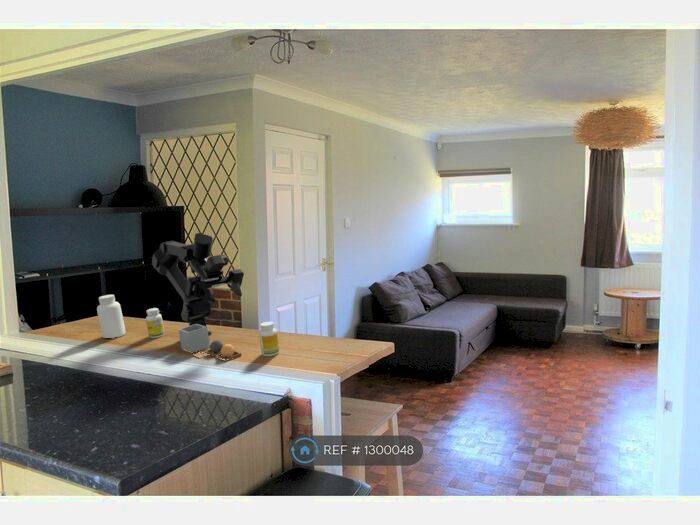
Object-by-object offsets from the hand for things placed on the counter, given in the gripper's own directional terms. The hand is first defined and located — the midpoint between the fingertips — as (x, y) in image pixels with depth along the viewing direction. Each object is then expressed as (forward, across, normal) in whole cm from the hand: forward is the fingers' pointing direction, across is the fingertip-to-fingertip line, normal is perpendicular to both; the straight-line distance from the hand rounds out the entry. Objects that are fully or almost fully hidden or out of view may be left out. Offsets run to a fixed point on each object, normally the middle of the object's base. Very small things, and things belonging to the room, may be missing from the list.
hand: (228, 298), depth 172 cm
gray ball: (+5, -3, +17) cm, 18 cm away
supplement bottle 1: (-26, -7, +36) cm, 44 cm away
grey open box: (-3, -6, +22) cm, 23 cm away
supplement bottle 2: (+19, +6, +9) cm, 22 cm away
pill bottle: (-39, -17, +44) cm, 61 cm away
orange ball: (+11, -3, +14) cm, 18 cm away
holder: (+8, -3, +16) cm, 18 cm away
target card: (+3, -8, +19) cm, 21 cm away
